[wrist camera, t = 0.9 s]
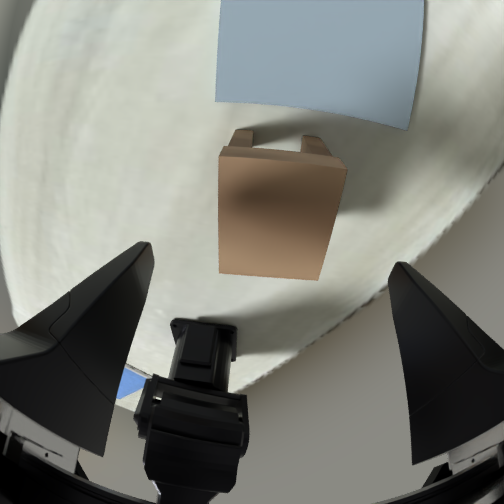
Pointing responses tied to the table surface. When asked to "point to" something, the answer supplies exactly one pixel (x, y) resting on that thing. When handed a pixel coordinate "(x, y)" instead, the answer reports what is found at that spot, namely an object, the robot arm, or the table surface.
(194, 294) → the table surface
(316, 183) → the walnut stool
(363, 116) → the slate mat
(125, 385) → the tablet computer
